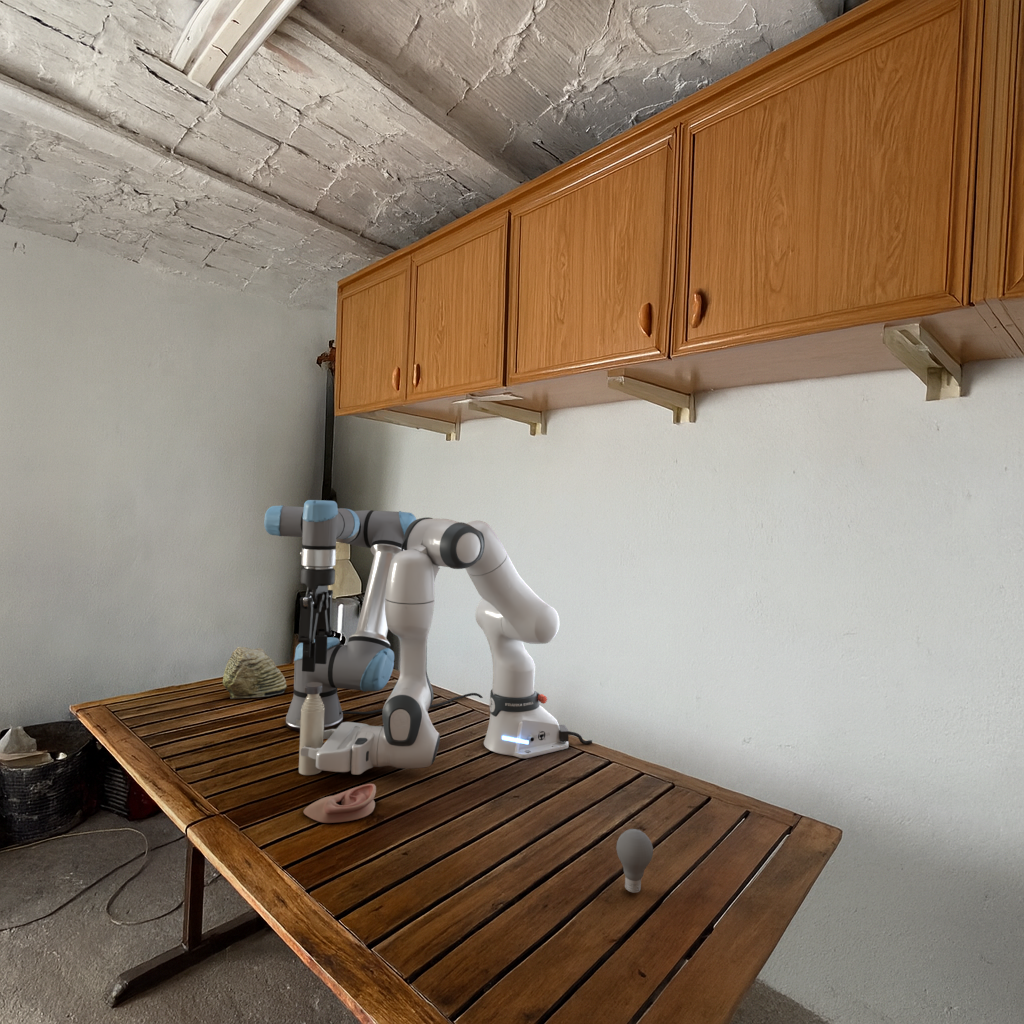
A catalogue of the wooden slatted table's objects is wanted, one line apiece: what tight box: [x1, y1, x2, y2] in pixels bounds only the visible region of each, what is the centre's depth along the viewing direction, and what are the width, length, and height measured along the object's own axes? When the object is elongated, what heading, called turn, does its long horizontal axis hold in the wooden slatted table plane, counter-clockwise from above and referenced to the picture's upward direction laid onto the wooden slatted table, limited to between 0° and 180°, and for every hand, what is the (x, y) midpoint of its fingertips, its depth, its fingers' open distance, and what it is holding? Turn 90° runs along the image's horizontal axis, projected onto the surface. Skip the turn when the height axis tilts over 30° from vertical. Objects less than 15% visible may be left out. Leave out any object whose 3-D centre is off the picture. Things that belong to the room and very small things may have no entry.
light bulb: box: [615, 828, 654, 894], centre depth 106 cm, size 6×6×10 cm
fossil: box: [222, 646, 288, 699], centre depth 198 cm, size 9×18×15 cm, turn 132°
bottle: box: [298, 694, 325, 776], centre depth 146 cm, size 5×5×20 cm
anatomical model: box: [302, 783, 377, 824], centre depth 128 cm, size 13×4×12 cm
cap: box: [305, 682, 322, 694], centre depth 146 cm, size 4×4×2 cm
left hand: (314, 667), depth 146 cm, fingers open, 6 cm apart
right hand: (309, 742), depth 146 cm, fingers open, 8 cm apart
